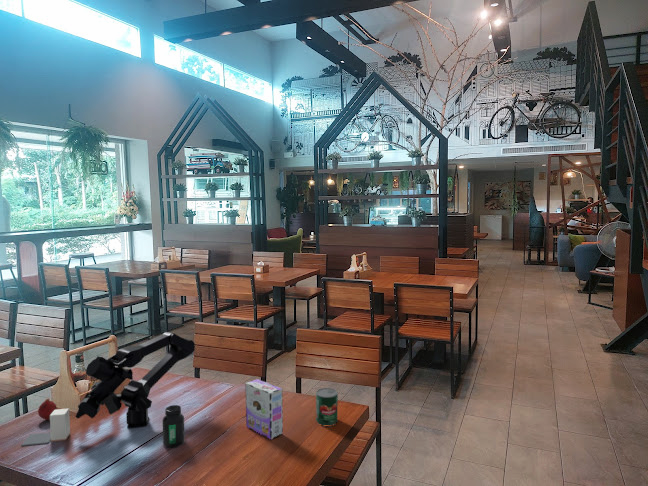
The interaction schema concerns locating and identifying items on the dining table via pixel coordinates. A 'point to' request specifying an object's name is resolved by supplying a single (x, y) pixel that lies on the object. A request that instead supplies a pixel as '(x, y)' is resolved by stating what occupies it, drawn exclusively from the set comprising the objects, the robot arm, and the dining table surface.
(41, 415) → the onion
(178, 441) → the supplement bottle
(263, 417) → the candy box
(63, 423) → the block
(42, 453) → the dining table surface
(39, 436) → the mat
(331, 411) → the canned tomato
